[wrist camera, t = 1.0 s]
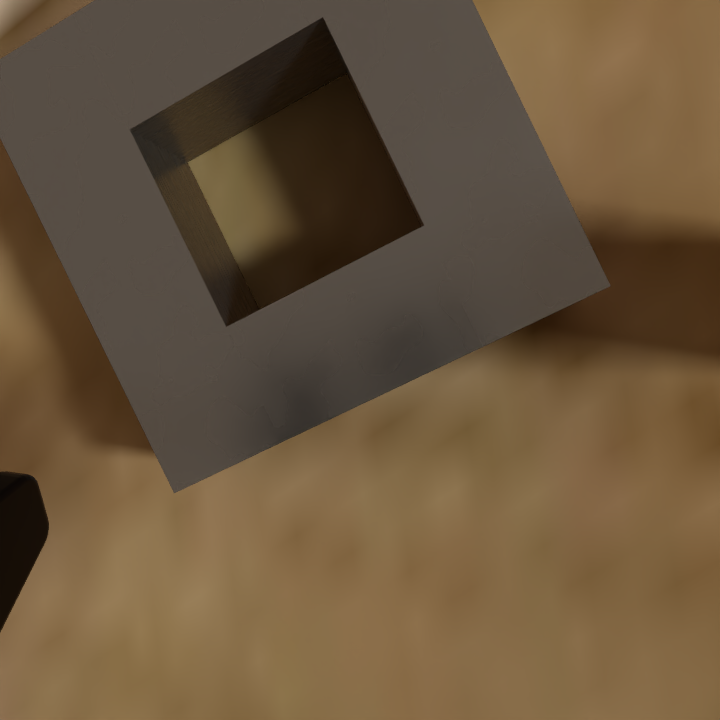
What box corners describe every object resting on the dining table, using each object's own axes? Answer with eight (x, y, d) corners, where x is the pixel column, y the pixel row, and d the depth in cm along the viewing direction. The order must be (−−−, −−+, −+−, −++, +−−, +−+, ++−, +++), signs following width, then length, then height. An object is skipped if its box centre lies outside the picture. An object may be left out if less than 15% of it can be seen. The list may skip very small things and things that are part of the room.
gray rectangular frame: (579, 291, 21) (610, 285, 17) (222, 461, 23) (174, 493, 19) (396, -86, 20) (384, -181, 17) (55, 118, 22) (-30, 77, 19)
